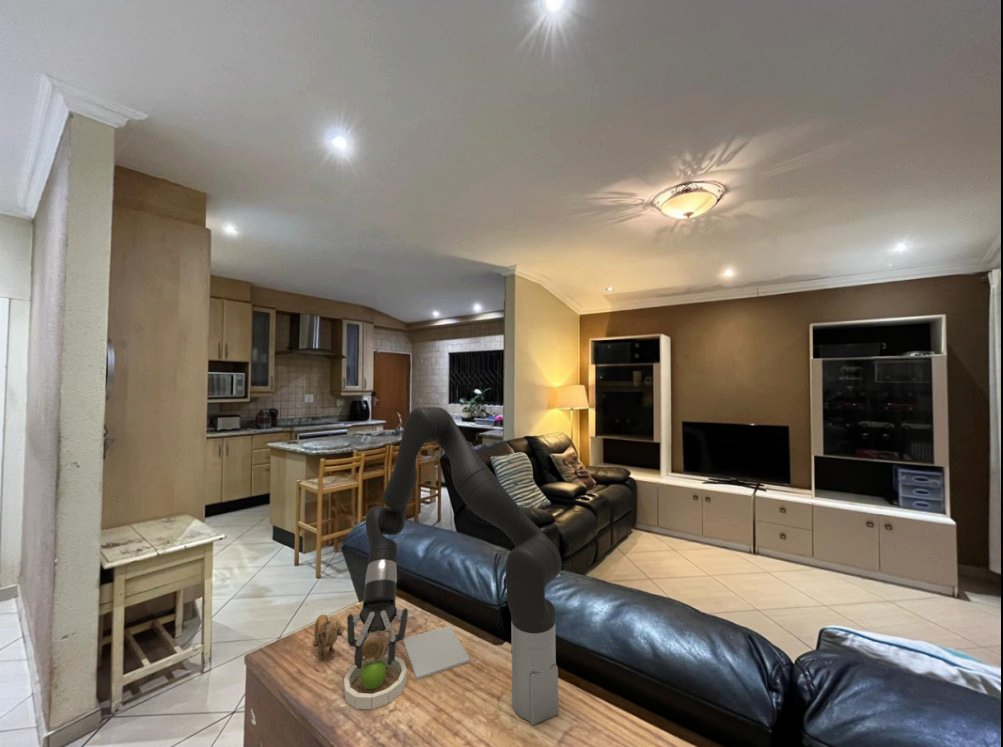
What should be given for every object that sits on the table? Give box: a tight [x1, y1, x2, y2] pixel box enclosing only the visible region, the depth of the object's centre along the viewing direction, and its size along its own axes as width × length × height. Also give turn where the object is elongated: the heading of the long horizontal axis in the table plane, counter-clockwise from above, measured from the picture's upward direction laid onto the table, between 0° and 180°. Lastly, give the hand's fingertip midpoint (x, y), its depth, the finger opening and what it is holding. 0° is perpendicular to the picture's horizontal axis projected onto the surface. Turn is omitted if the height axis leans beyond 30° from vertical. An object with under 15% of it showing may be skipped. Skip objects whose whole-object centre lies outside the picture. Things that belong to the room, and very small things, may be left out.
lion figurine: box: [312, 614, 346, 660], centre depth 101 cm, size 15×5×9 cm, turn 44°
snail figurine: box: [360, 626, 391, 690], centre depth 88 cm, size 5×6×12 cm
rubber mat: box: [402, 625, 471, 681], centre depth 99 cm, size 15×13×1 cm
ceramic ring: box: [343, 653, 408, 710], centre depth 88 cm, size 13×13×2 cm
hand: (374, 665), depth 87 cm, fingers closed on snail figurine, 5 cm apart
